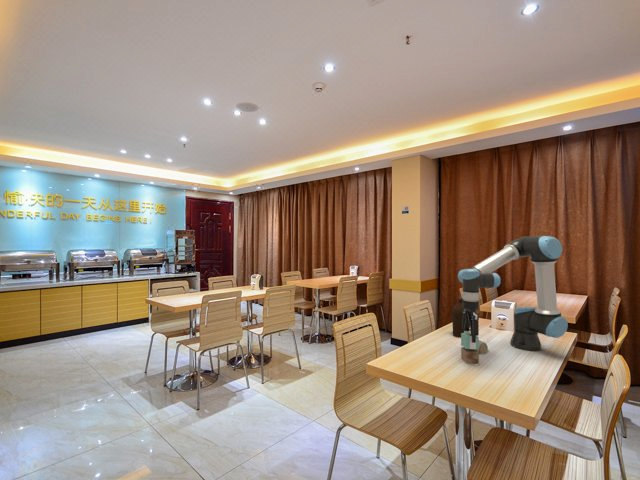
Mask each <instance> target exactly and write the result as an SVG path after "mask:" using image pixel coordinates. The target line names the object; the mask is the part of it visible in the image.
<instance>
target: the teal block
mask: <svg viewBox="0 0 640 480" xmlns="http://www.w3.org/2000/svg"><path fill="white" fill-rule="evenodd" d="M470 335H471V332H470V333H461V338H460V345H461V347H464V348H465V349H470ZM479 337H480V336H476V349H478V342H479V340H480V339H479Z"/></svg>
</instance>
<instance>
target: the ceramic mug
mask: <svg viewBox="0 0 640 480" xmlns="http://www.w3.org/2000/svg"><path fill="white" fill-rule="evenodd" d="M476 350H477V351H478V352H479V355H484V354H487V353H488V352H489V347H488V344H487V343H486V342H484V341H482V340H480V339H479V342H478V349H476Z"/></svg>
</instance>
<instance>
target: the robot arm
mask: <svg viewBox="0 0 640 480" xmlns="http://www.w3.org/2000/svg"><path fill="white" fill-rule="evenodd" d="M562 252H563V246H562V244H561V242H560V240H558V239H557V238H556V237H554V236H548V235H537V236H536V235H535V236H534V235H533V236H532V235H531V236H528V235H527V236H525V235H524V236H522V237H519V238H516V239H515V240H512V241H511V242H508V243H507V244H505V245H504V247H503V249H501V250H499V251H497V252H495V253H494V254H492V255H490V256H489V257H487V258H485V259H483V260H482V261H480V262H479V263H476V265H474V266H472V267H470V268H464V269H460V271H458V272H457V273H458V274H457V279H458V281H459V282H460V283H462V293H461V297H462V298H463V299H464V300H462V307H463V308H465V309H463V310H462V312H463V317H462V328H464V329H463V330H464V333H471V335H470V349H476V336H478V337H480V336H479V333H480V332H479V331H480V330H479V318H480V316H479V314H477V312H476V310H478V309H479V308H480V302H479V300H480V289H493V288H498V287H499V286H500V285H501V276H500V275H499V274H498V273H495V272H494V271H496V270H498V269H499V268H501V267H502V266H504V265H507V264H508V263H509V262H511V261H513V260H518V259H520V258H525V257H527V258H530V262H531V263H532V264H533V265H534V276H535V291H536V303H537V307H535V306H516V307H515V308H514V310H513V312H514V313H513V333H512V335H511V338H510V343H509V344H510V345H511V346H512V347H514V348H517V349H519V350H525V351H529V352H530V351H531V352H534V351H535V352H537V351H542V343H541V341H540V337H539V334H540V335H544V336H547V337H550V338H554V339H559V338H561V337H563V336H564V335H565V334H566V332H567V330H568V326H569V325H568V320H567V319H566V318H565V317H563V316H562V311H561V310H560V309H559V308H558V302H557V301H558V300H557V289H556V275H555V273H556V272H555V263H557V262H558V259H559V258H560V257H561V255H562V254H563V253H562Z"/></svg>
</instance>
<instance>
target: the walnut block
mask: <svg viewBox="0 0 640 480" xmlns="http://www.w3.org/2000/svg"><path fill="white" fill-rule="evenodd" d="M460 349H461V351H460V356H461V358H460V360H461V359H462V360H463V361H464V362H465V363H466V364H465V363H464V362H463V361H462V360H461V361H462V362H463V363H464V364H465V365H480V363H479V362H480V358H479V357H480V356H479V355H480V354H479V352H478V351H477V350H476V349H465V348H464V347H463V346H461V348H460Z"/></svg>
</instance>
